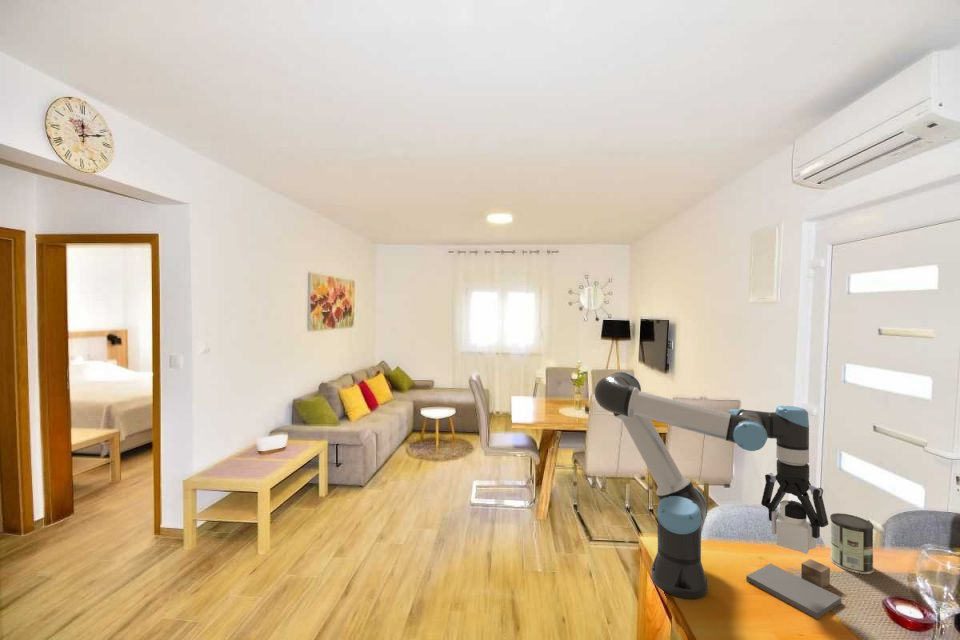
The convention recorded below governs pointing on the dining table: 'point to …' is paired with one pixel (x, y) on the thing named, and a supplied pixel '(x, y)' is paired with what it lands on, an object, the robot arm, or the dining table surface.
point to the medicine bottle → (792, 526)
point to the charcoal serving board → (794, 590)
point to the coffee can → (852, 543)
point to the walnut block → (815, 573)
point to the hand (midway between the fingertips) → (793, 540)
